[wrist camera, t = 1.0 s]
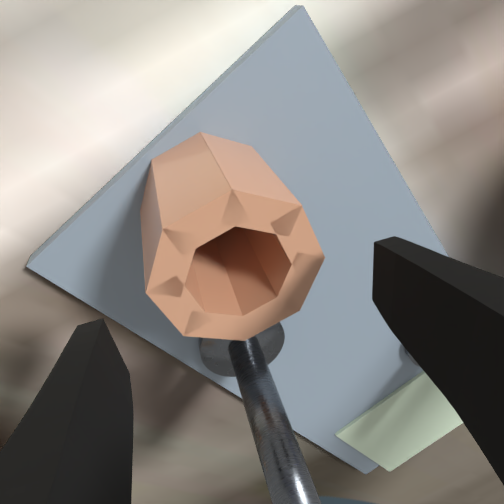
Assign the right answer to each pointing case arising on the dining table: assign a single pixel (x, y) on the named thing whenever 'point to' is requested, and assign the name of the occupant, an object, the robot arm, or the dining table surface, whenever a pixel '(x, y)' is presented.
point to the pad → (402, 423)
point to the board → (317, 211)
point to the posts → (265, 410)
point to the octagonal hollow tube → (224, 240)
